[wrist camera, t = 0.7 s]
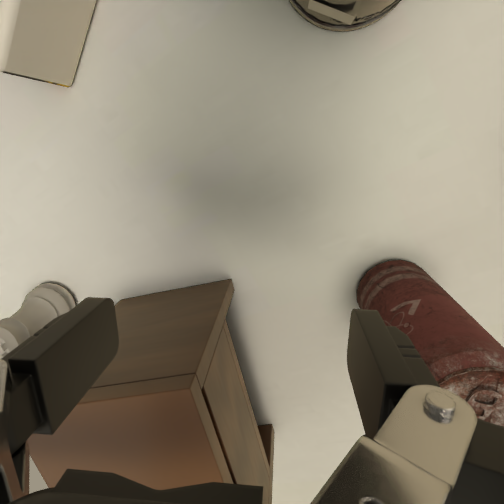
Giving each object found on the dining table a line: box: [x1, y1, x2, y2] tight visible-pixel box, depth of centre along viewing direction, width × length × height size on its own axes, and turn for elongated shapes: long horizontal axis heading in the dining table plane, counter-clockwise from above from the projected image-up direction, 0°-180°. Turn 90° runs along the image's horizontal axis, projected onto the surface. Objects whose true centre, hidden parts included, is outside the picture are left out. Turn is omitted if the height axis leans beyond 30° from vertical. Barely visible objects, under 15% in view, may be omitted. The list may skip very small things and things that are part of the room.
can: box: [357, 260, 504, 427], centre depth 23 cm, size 6×6×14 cm
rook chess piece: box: [0, 283, 75, 359], centre depth 29 cm, size 4×4×8 cm
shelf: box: [27, 279, 274, 504], centre depth 27 cm, size 18×11×14 cm, turn 14°
